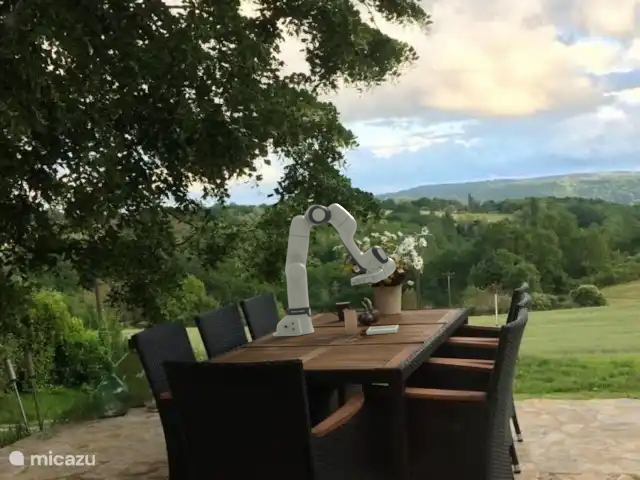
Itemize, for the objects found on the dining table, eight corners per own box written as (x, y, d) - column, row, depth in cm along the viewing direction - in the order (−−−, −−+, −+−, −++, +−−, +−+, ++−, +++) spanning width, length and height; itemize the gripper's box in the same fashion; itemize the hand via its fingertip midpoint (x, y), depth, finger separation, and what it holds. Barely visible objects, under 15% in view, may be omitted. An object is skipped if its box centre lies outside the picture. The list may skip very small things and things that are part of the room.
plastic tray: (366, 334, 395) (366, 331, 395) (370, 330, 410) (369, 326, 410) (396, 332, 393) (395, 329, 393) (398, 328, 407) (398, 325, 407)
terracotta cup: (345, 335, 401) (343, 311, 401) (347, 333, 407) (344, 310, 407) (356, 334, 400) (354, 311, 400) (358, 332, 406) (356, 309, 406)
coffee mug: (352, 318, 469) (350, 301, 469) (351, 320, 460) (349, 303, 460) (332, 319, 470) (331, 303, 470) (331, 321, 461) (330, 304, 461)
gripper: (358, 271, 429) (342, 279, 419) (386, 266, 414) (370, 274, 405) (362, 282, 430) (346, 290, 420) (390, 277, 415) (374, 285, 405)
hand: (358, 282), depth 412 cm, fingers open, 8 cm apart
